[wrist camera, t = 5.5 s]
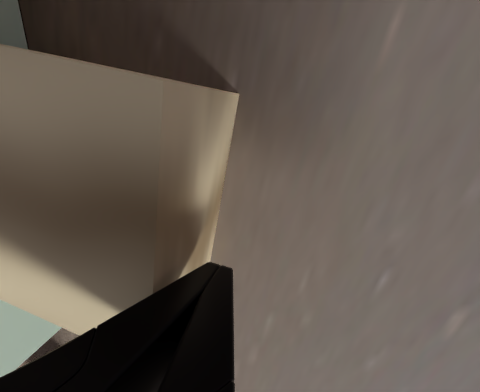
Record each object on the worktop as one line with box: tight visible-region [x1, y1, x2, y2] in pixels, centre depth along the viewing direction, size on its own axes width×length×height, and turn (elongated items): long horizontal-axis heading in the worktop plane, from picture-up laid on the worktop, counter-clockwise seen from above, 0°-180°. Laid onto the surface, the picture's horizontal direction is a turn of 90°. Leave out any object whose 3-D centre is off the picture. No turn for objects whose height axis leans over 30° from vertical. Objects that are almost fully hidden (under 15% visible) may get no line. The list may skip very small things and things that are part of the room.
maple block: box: [0, 44, 239, 336], centre depth 8 cm, size 8×8×5 cm
